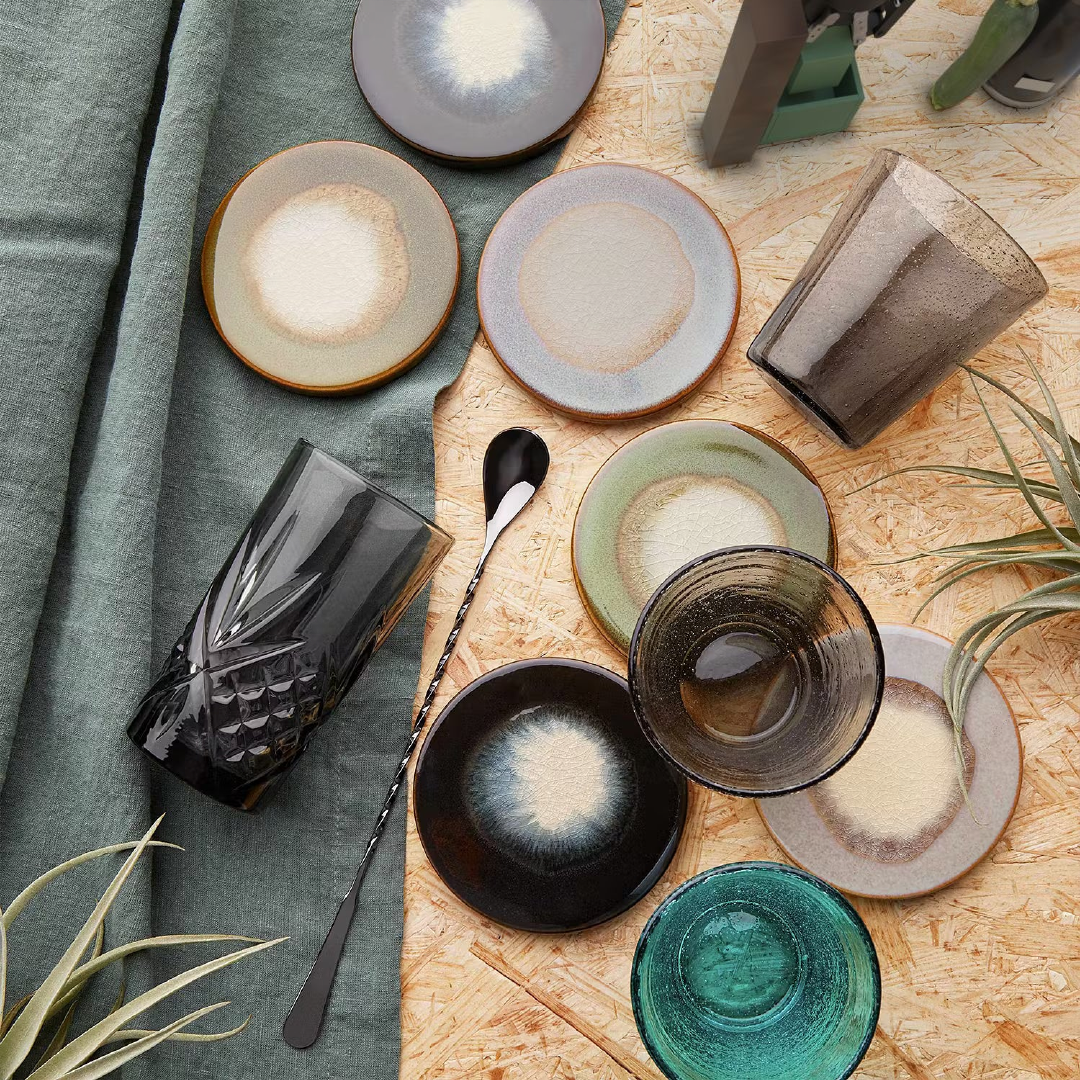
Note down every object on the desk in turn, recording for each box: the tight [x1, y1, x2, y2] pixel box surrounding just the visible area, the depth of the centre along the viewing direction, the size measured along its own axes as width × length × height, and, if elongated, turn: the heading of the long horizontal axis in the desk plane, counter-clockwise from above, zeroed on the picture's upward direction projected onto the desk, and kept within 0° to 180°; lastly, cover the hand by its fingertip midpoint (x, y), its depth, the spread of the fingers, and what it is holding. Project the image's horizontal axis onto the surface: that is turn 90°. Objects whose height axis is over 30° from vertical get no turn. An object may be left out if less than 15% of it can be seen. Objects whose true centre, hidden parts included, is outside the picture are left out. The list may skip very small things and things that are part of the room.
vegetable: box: [929, 0, 1039, 110], centre depth 86 cm, size 4×4×20 cm
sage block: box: [786, 25, 856, 94], centre depth 89 cm, size 5×5×5 cm
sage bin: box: [758, 55, 866, 146], centre depth 93 cm, size 9×9×6 cm
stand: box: [699, 0, 809, 170], centre depth 85 cm, size 4×4×20 cm
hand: (809, 64), depth 91 cm, fingers closed on sage block, 5 cm apart
